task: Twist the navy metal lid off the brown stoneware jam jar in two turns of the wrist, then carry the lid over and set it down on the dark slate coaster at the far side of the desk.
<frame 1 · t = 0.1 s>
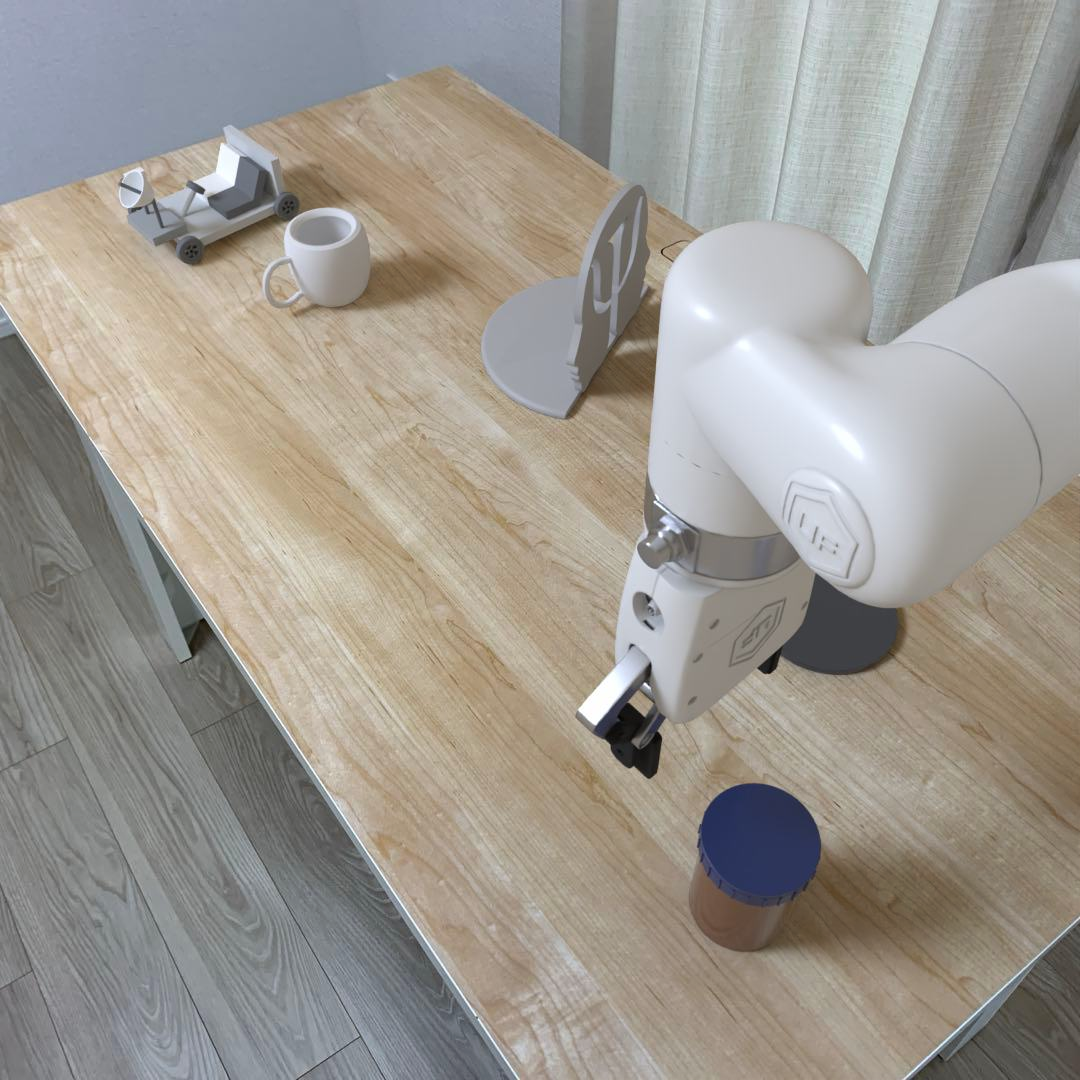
hand: (694, 706, 59), 16 cm above the table, tool pointing down, fingers open, 9 cm apart
jar: (738, 901, 68), on the table
perfume bottle: (807, 451, 94), on the table
toy car: (207, 225, 119), on the table
ornament: (551, 335, 105), on the table
coaster: (824, 615, 82), on the table
mug: (321, 299, 110), on the table
lid: (759, 840, 61), point 9 cm above the table, screwed on, not yet turned
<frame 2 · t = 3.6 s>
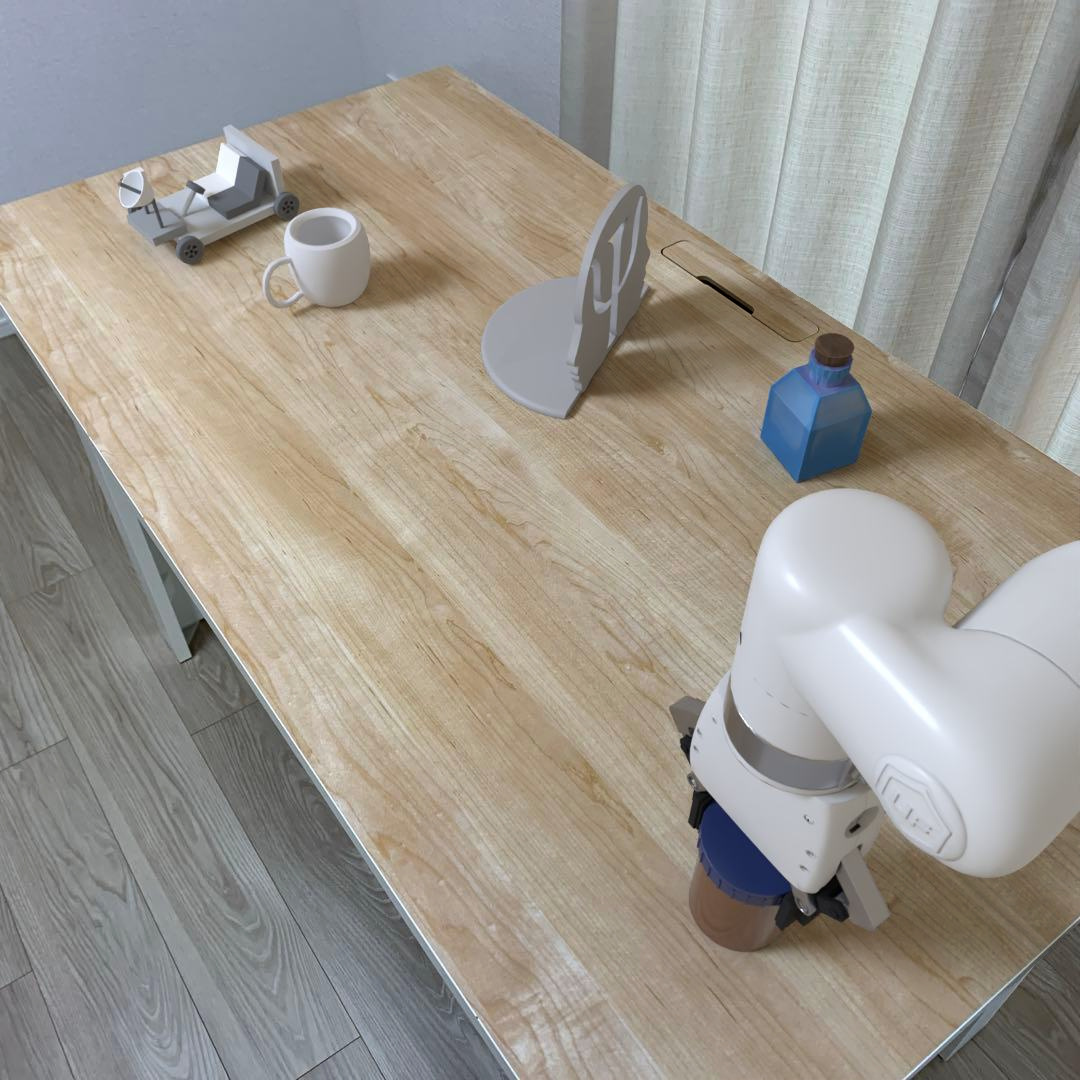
hand: (752, 860, 63), 7 cm above the table, tool pointing down, fingers closed on lid, 6 cm apart
lid: (759, 839, 61), point 9 cm above the table, screwed on, not yet turned, touching gripper
everything else where it was.
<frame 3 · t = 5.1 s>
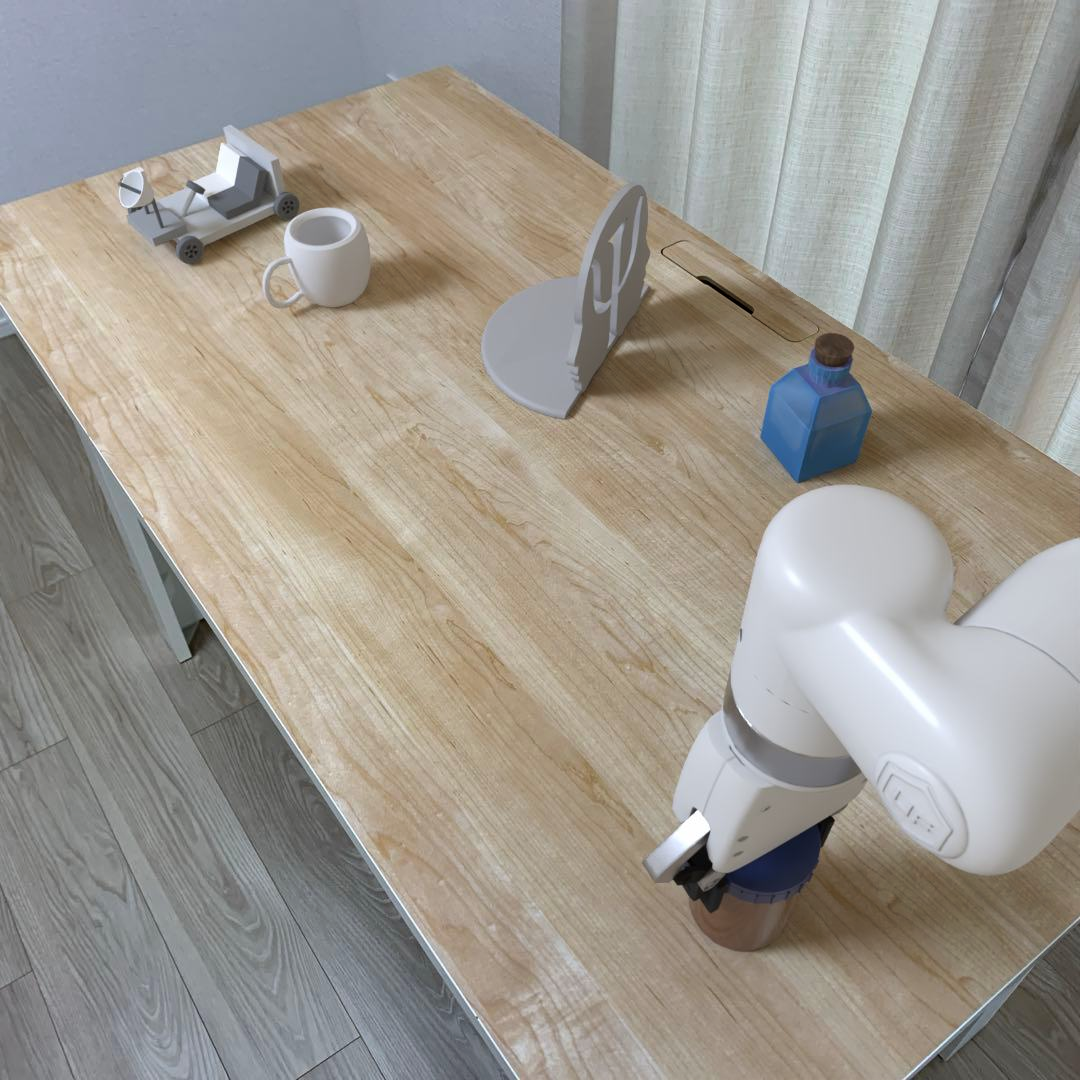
hand: (751, 858, 63), 7 cm above the table, tool pointing down, fingers closed on lid, 6 cm apart
lid: (759, 837, 61), point 10 cm above the table, turned 84° so far, risen 0.2 cm, still on its thread, touching gripper
everything else where it was.
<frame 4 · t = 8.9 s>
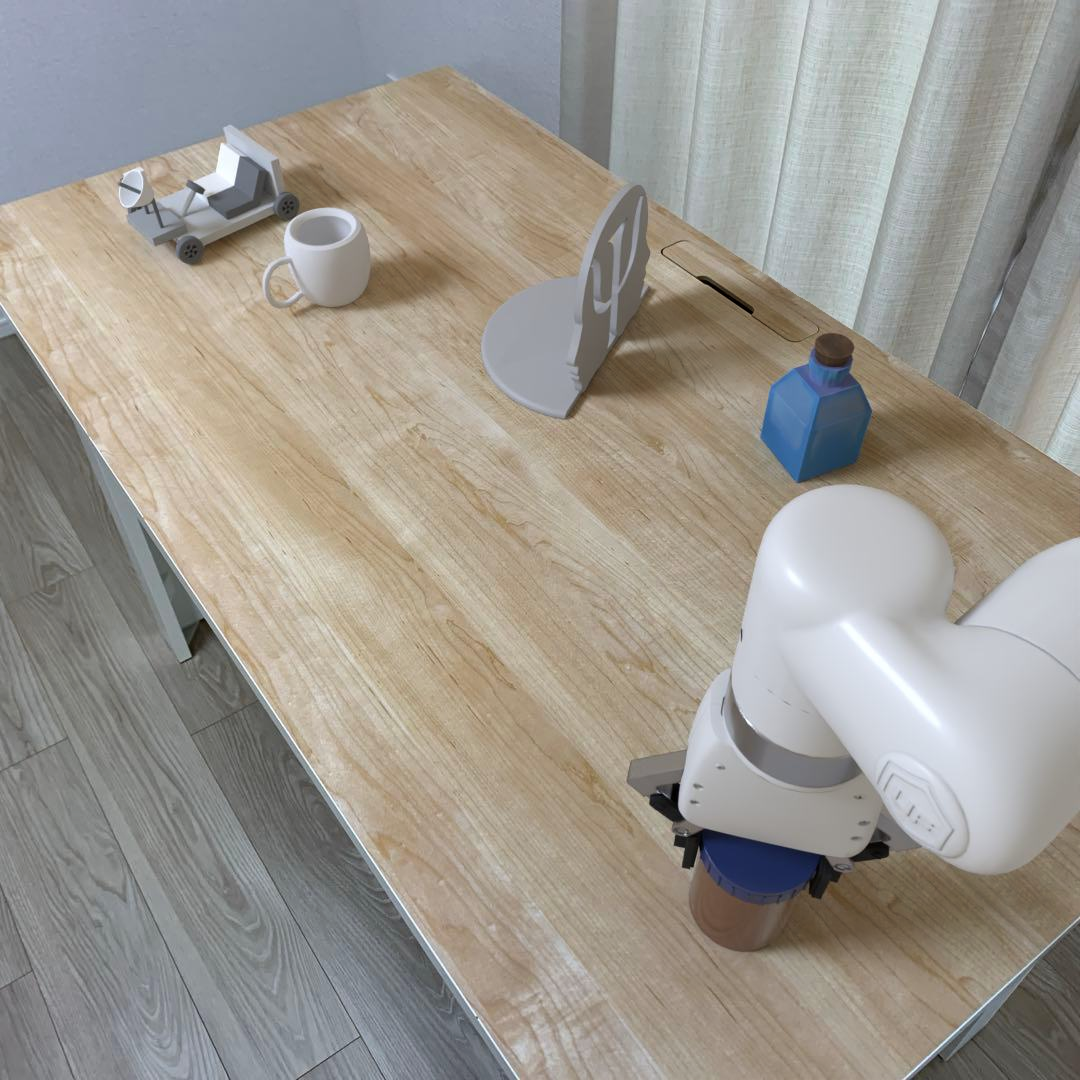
hand: (753, 859, 63), 7 cm above the table, tool pointing down, fingers closed on lid, 6 cm apart
lid: (760, 837, 60), point 10 cm above the table, turned 119° so far, risen 0.3 cm, still on its thread, touching gripper
everything else where it was.
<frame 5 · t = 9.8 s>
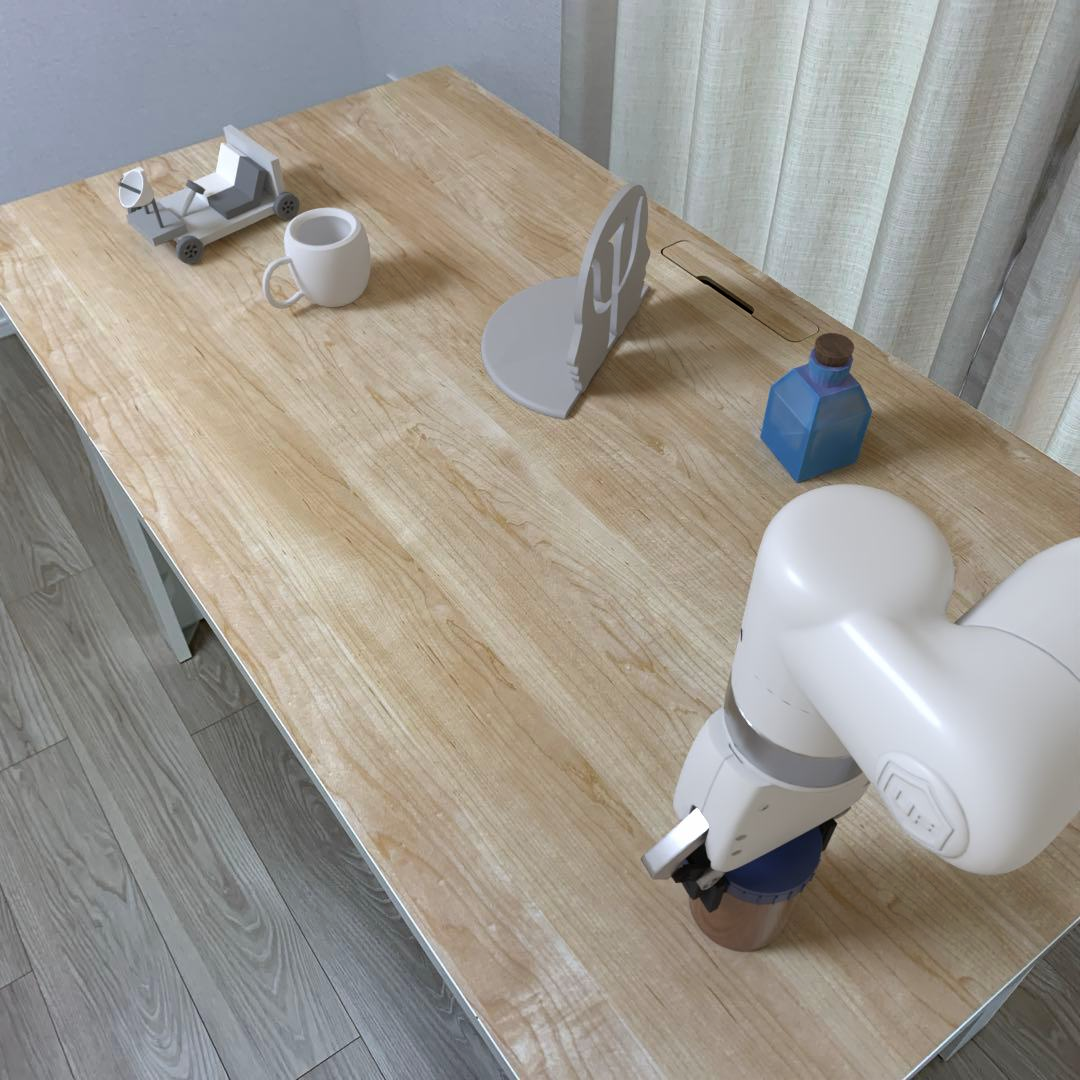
hand: (752, 859, 63), 7 cm above the table, tool pointing down, fingers closed on lid, 6 cm apart
lid: (760, 837, 60), point 10 cm above the table, off its thread, touching gripper
everything else where it was.
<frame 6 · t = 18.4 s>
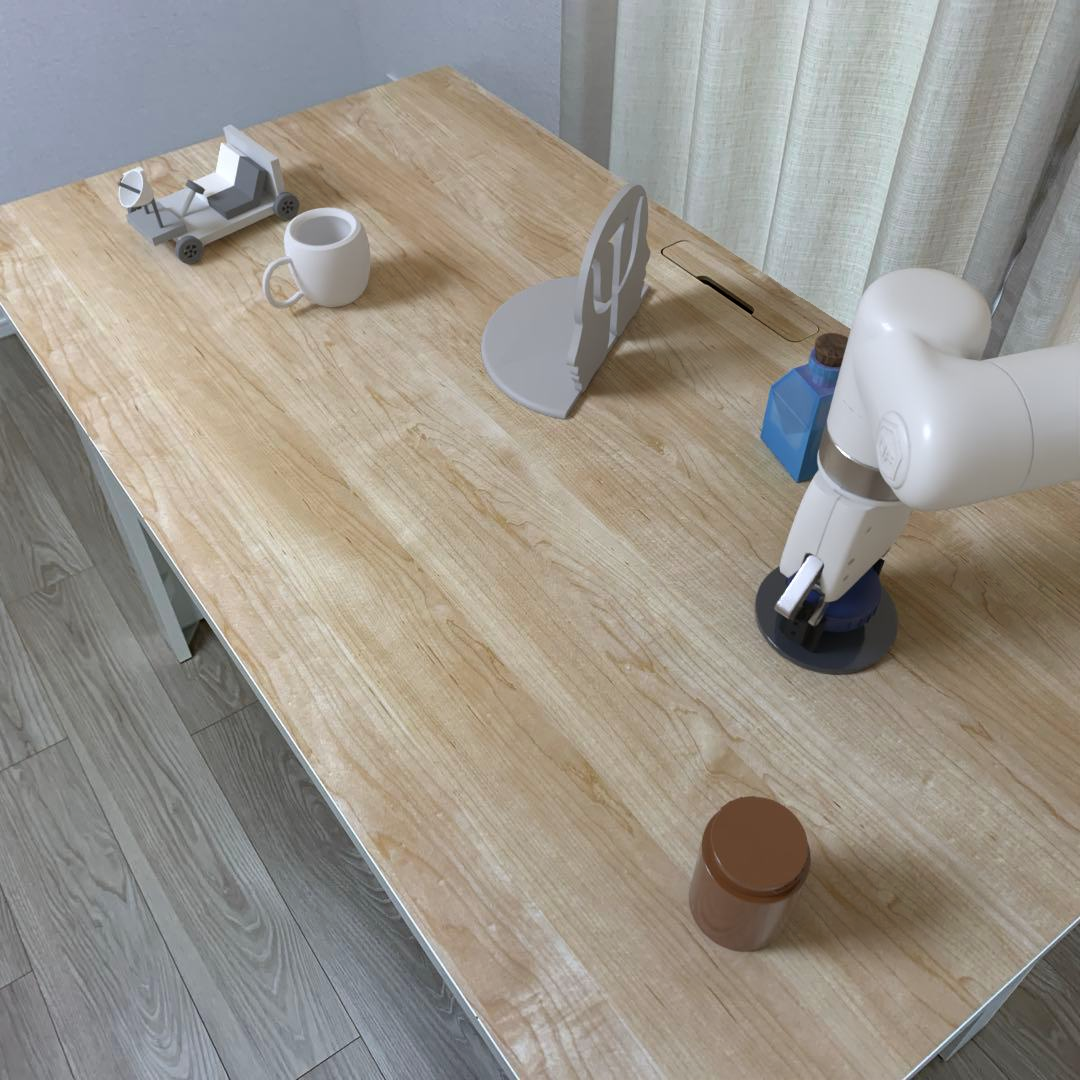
hand: (826, 609, 82), 1 cm above the table, tool pointing down, fingers closed on lid, 6 cm apart
lid: (834, 585, 80), point 4 cm above the table, off its thread, touching gripper
everything else where it was.
when the fingers open (1 cm above the table, at t = 26.1 s): lid drops 3 cm, resting on coaster.
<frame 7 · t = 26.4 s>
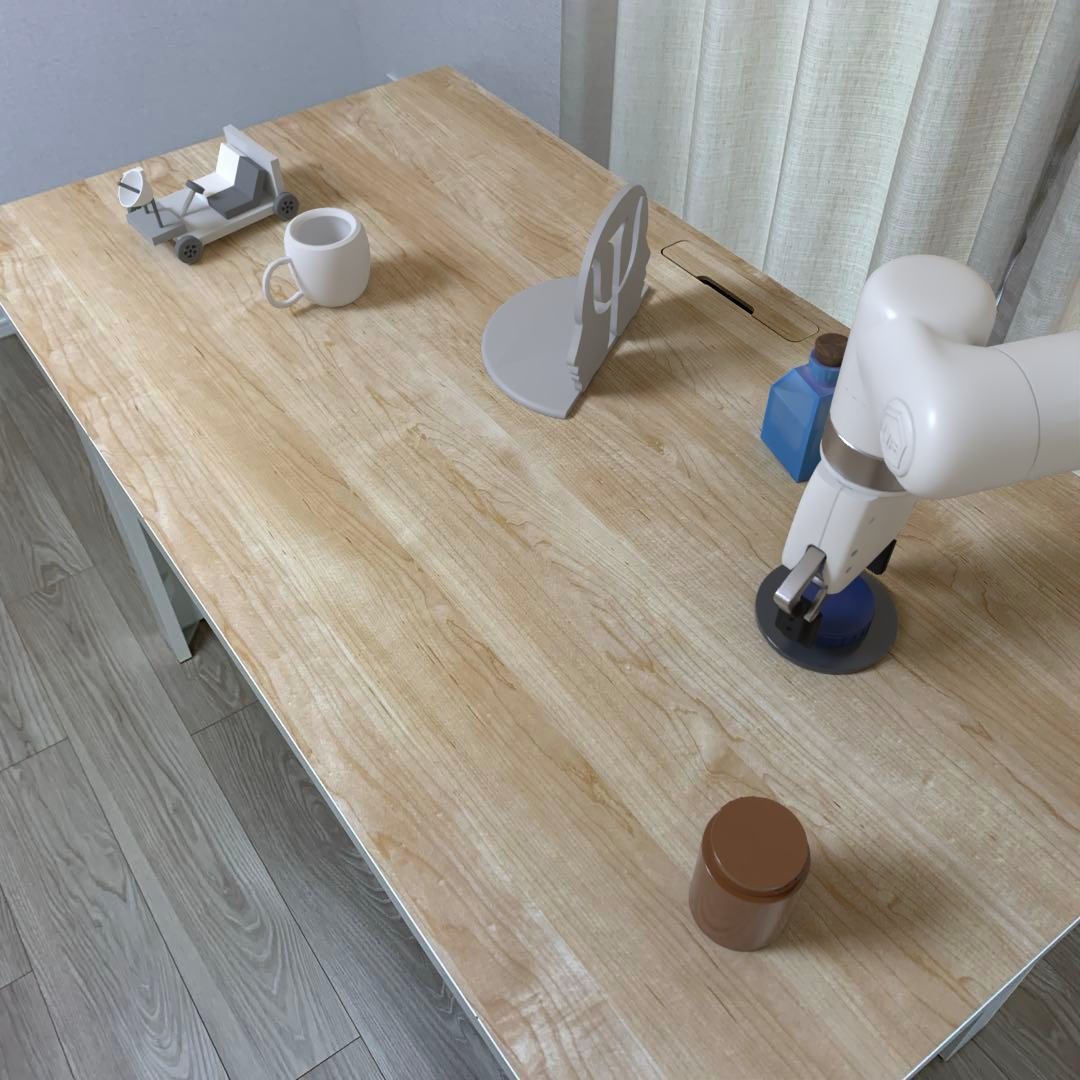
hand: (830, 598, 81), 2 cm above the table, tool pointing down, fingers open, 9 cm apart
lid: (829, 601, 81), point 2 cm above the table, off its thread, touching coaster
everything else where it was.
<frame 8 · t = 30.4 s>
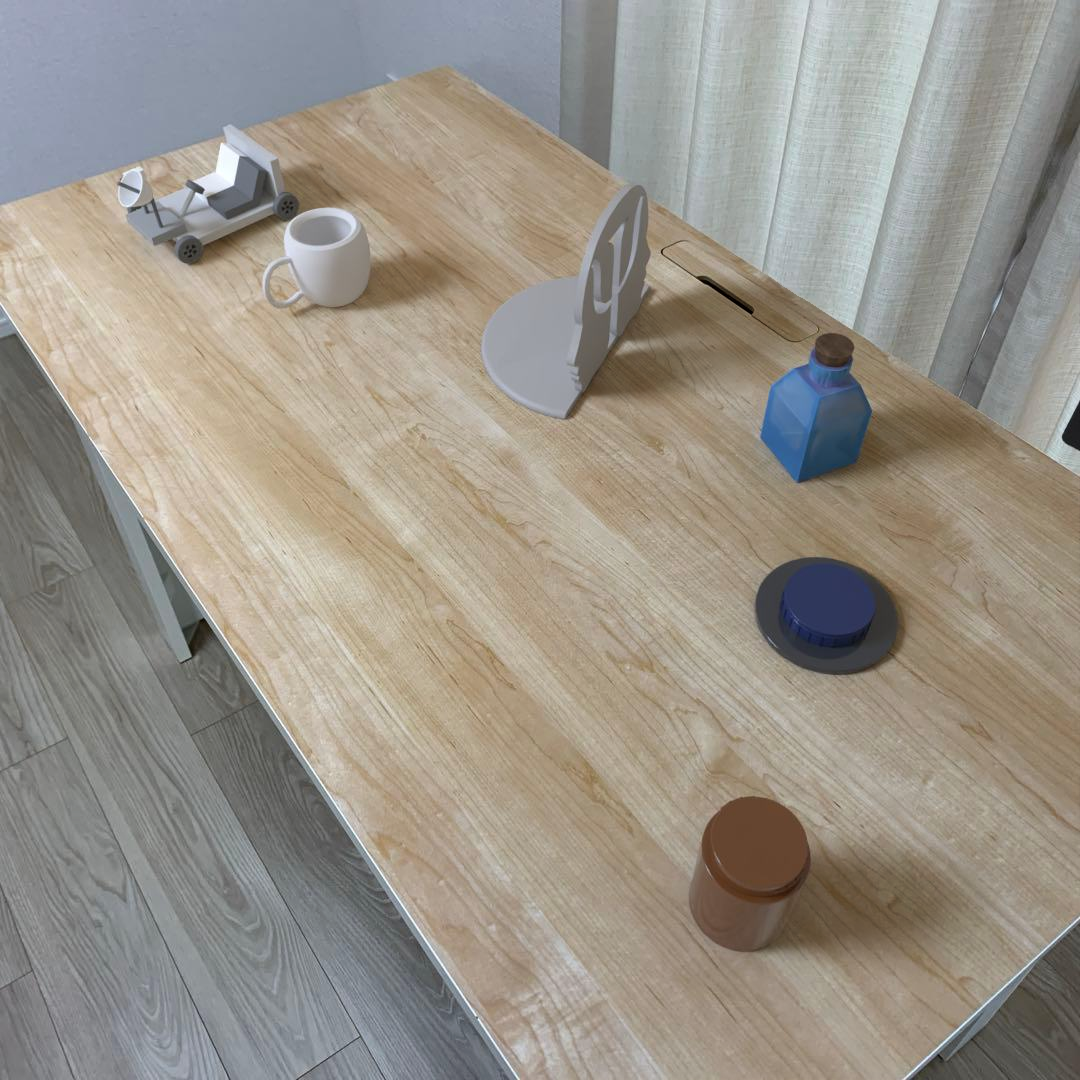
nothing on the table moved.
at the end: lid inside the target area on the coaster (0.0 cm from its centre), point 1.9 cm above the coaster's base; lid point 1.9 cm above the table; the gripper is holding nothing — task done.
